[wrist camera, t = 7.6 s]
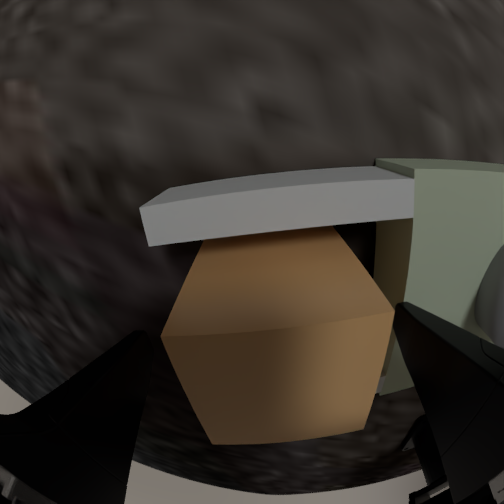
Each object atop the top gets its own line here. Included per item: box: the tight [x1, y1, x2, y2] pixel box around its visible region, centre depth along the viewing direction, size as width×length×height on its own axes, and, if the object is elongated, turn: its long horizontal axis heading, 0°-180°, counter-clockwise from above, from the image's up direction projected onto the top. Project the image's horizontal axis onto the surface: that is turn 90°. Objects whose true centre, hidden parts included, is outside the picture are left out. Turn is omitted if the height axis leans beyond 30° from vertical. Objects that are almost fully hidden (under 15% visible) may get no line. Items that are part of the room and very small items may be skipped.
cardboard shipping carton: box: [160, 225, 395, 445], centre depth 9 cm, size 5×5×6 cm
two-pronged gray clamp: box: [140, 158, 504, 396], centre depth 9 cm, size 18×10×5 cm, turn 97°
